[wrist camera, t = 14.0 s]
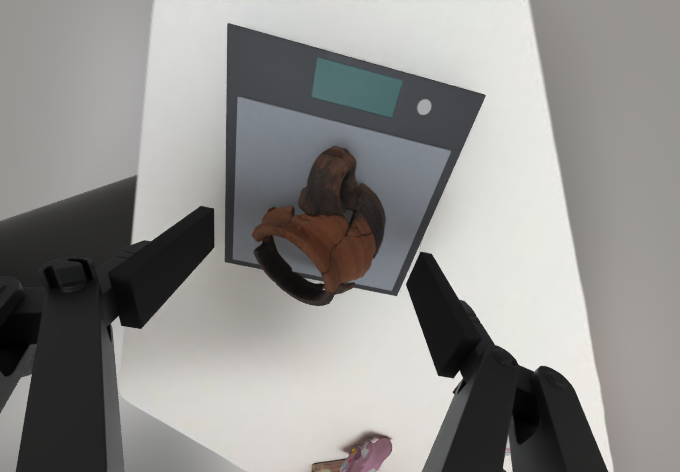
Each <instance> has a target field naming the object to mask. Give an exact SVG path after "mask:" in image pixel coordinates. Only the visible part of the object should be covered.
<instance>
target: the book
mask: <svg viewBox="0 0 680 472" xmlns="http://www.w3.org/2000/svg"><path fill="white" fill-rule="evenodd" d="M344 461H345V460H340V461H333V462H326V463H319V464H313V465H312V472H339V471H340V468H341V466H342V464H343V463H344Z"/></svg>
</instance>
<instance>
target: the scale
mask: <svg viewBox="0 0 680 472" xmlns="http://www.w3.org/2000/svg"><path fill="white" fill-rule="evenodd" d="M485 96H486V95H484V94H481V93H477V92H473V91H470V90H466V89H463V88H459V87H456V86H452V85H448V84H445V83H441V82H438V81H434V80H430V79H427V78H423V77H420V76H416V75H412V74H409V73H405V72H402V71H398V70H394V69H391V68H387V67H384V66H380V65H377V64H373V63H369V62H366V61H362V60H359V59H355V58H351V57H348V56H344V55H341V54H337V53H333V52H330V51H326V50H323V49H319V48H316V47H312V46H308V45H305V44H301V43H298V42H294V41H290V40H287V39H283V38H280V37H276V36H272V35H269V34H265V33H262V32H258V31H255V30H251V29H247V28H244V27H240V26H237V25H233V24H229V23H228V27H227V114H226V200H225V262H227V263H232V264H237V265H243V266H248V267H253V268H258V269H262V268H261V266H260V265H259V263H258V262H257V259H256V257H255V255H254V253H253V251H254V250H255V248H257V247H258V246H260V245H261V244H262V240H261V241H260V242H256V241H255V239H254V238H253V237H252V233H253V231H254V229H255V227H257V226H258V225H260V224H261V221H262V218H263V217H264V215H265V214H266V213H267V211H268V209H270V208H272V207H273V206H274V207H275V208H276V209H277V208H281V207H286V206H293V207H294V209H295V214H294V215H301V214H305V212H304V211H302V210H301V209H300V208H299V206H298V199H299V196H300V193H301V190H302V189H303V188H304V187H306V186H307V180H308V176H309V173H310V170H311V168H312V165H313V163H314V162H315V160H316V159H317V157H318V156H319V155H320V154H321V153H322V152H324V151H325V150H327V149H329V148H331V147H332V146H338V147H340V148H345V149H347V150H348V151H349V152H350V153H351V155H352V156H353V157H354V158H355V159H356V163H357V165H356V172H355V177H356V182H357V184H358V186H360V184H361V183H364V184H365V185H367V186H368V187H369V188H370V189H371V190H372V191H373V192H374V193H375V194H376V195H377V196H378V198H379V200H380V201H381V204H382V206H383V208H384V212H385V217H386V224H385V230H384V237H383V242H382V244H381V247H380V249H379V251H378V254H377V255H376V256H375V258H374V259H372V263H371V267H370V269H369V270H368V271H367V272H366V273H365V275H364V276H363V277H362V278H358V279H357V280H352V281H350V282H343V283H344V284H349V283H351V282H355V286H354V288H359V289H364V290H369V291H374V292H379V293H384V294H389V295H394V296H397V295H398V292H399V290H400V288H401V286H402V283H403V281H404V279H405V276H406V274H407V272H408V270H409V267H410V265H411V263H412V261H413V258H414V256H415V254H416V252H417V249H418V247H419V245H420V243H421V240H422V238H423V236H424V234H425V231H426V229H427V227H428V225H429V222H430V220H431V218H432V216H433V213H434V211H435V209H436V207H437V204H438V202H439V200H440V198H441V195H442V193H443V191H444V189H445V186H446V184H447V182H448V180H449V177H450V175H451V173H452V171H453V168H454V166H455V164H456V162H457V159H458V157H459V155H460V153H461V150H462V148H463V146H464V144H465V141H466V139H467V137H468V135H469V132H470V130H471V128H472V125H473V123H474V121H475V119H476V116H477V114H478V112H479V110H480V107H481V105H482V103H483V101H484V98H485ZM352 214H353V211H352V210H346V211H345V213H344V214H343V215H344V216H345V217H346V218H347V220H348V222H350V220H351V217H352ZM273 238H274V242H275V245H276V248H277V250H278V253H279V254H280V255H281V257H282V258H283V259H284V260H285V261H286V262H287V263H288V264H289V265H290V266H291V268H292V271H293V272H294V273H297V274H299V275H300V276H302V277H303V278H308V279H313V280H318V281H323V278H322V276H321V272H320V271H319V270H318V269H317V267H316V266H315V264H314V263H313V262H312V261H311V260H310V258H309V257H308V256H307V255H306V254H305V253H303V252H302V251H301V250H300V249H299V248H298V247H297V246H295V245H294V244H293V243H291V242H290V241H288V240H287V239H285V238H282V237H278V236H274V235H273ZM323 282H324V281H323Z"/></svg>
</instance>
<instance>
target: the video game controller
mask: <svg viewBox="0 0 680 472" xmlns="http://www.w3.org/2000/svg"><path fill="white" fill-rule="evenodd" d="M391 451H392V444H391V441H390V440H389V439H388V438H381V439H379V440H377V441H376V442H375V443H374V444H373V443H372V442H371V441H370V440H369V439H366V440H365V441H364V443H363V445H362V447H361V448H360V447H359V446H358V445H357V446H355V447H354V448H353V449H352V452H351V453H350V455H349V456H348V458H347V459H346V460H345V461H344V463H343V464H342V466H341V468H340V471H339V472H376V471H377V470H378V469H379V468H380V466H381V464H382V463H383V461H384V460H385V459H386V458H387V457H388V456H389V455H390V453H391Z"/></svg>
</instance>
